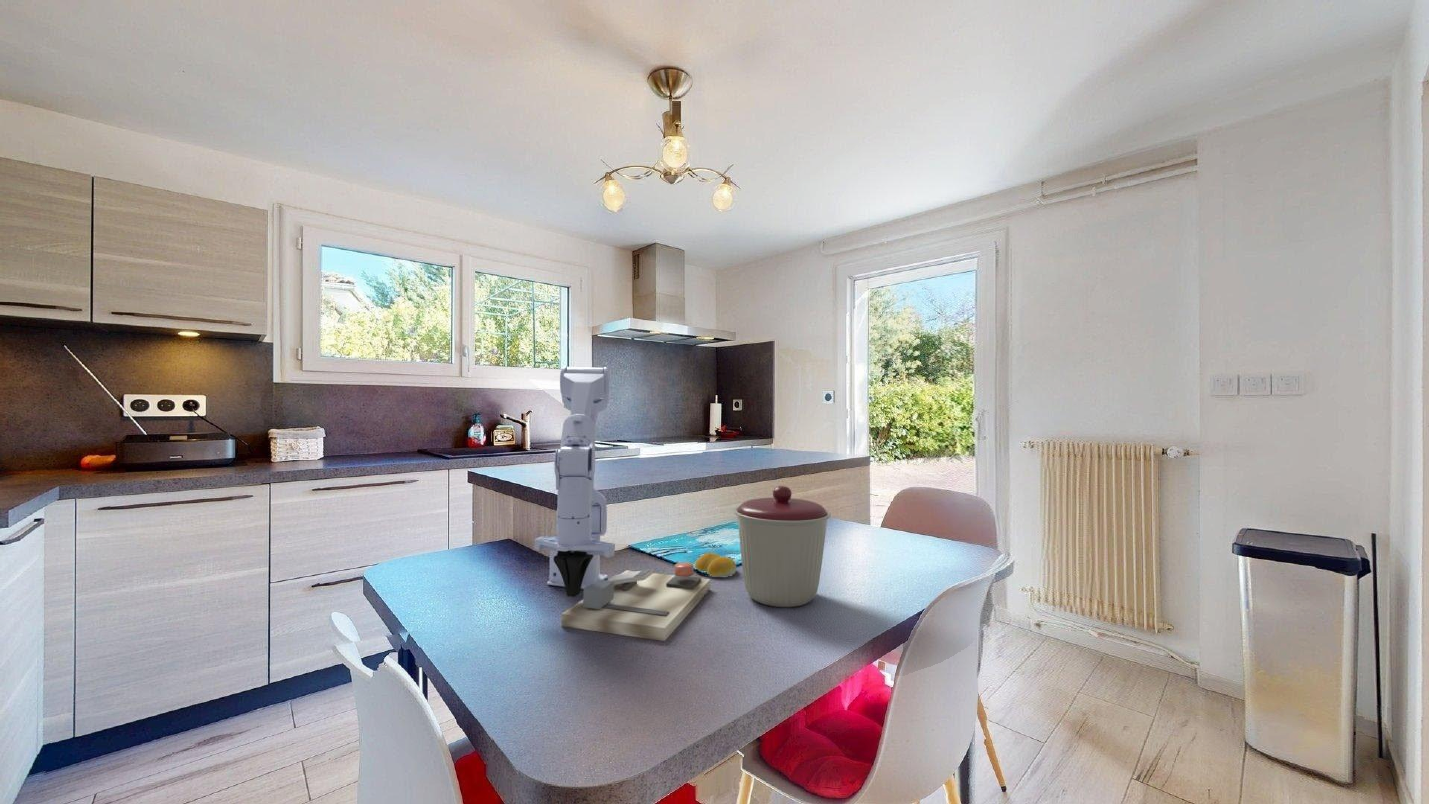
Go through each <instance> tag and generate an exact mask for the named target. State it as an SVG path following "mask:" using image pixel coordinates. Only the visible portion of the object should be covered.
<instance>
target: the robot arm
mask: <svg viewBox="0 0 1429 804" xmlns="http://www.w3.org/2000/svg"><path fill="white" fill-rule="evenodd" d="M559 389H560V393H561V394H560V395H561V399H562V404H563V406H564V407H563V408H564V409H566V410H568V411H570V416H568V417H567V418H566V419H564V421H563V424H562V425H563V426H562V432H561V440H560V445H559V449H558V448H556V449H555V452H554V460H553V466H554V468H553V469H554V475H555V490H556V491H557V501H556V503H557V505H556V506H557V508H556V514H555V534H556V536H538V537H536V538H534V541H533V542H534V546H533V549H534V551H541V550H544V551H549V576H548V578H549V580H548V581H547V583H546V584H547V585H549V586H550V585H551V586H557V587H563V588H565V593H566V596H567V597H571V598H574V597H577V596H578V595H580V594H581V590H584V588H586V587H587V586H589V585H590V584H592V583H593V582H595V581H597V580H607V579H608V574H604V573H603V574H601V573H600V572H601V571H600V568H601V567H600V566H601V564H600V563H601V561H600V560H601V559H600V558H601V557H604V558H608V559H609V558H611V557H614V556H615V553H616V543H612V542H608V541H607V542H606V541H602V540H601V537H602V536H605V534H606V533H607V531H608V530H607V529H608V527H607V525H608V523H607V522H608V507H607V498H606V497H605V496H604V494H603V493H601V492H599V491H598V490H597V489H595V479H594V478H595V472H596V428H597V420H598V417H599V414H600V412H602V411H604V410H606V409H608V404H609V395H610V394H609V393H610V369H609V368H608V367H607V366H604V367H591V366H590V367H585V366H583V367H582V366H567V365H564V366H563V367H561V369H560V374H559Z"/></svg>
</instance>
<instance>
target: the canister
mask: <svg viewBox="0 0 1429 804" xmlns="http://www.w3.org/2000/svg"><path fill="white" fill-rule="evenodd" d="M772 496H773V497H762V498H760V497H759V498H754V499H749V500H747V501H744V502H742V503H741V504H740V505H738V506H736V507H735V508H734V509H733V512H734V514H735V516H737V523H738V524H737V526H738V535H739V548H740V558H741V567H742V574H743V575H742V576H743V583H744V587H745V590H746V592H747V594H748V595H749V597H750V598H751V599H753V600H754V601H756V602H758V603H760V604H762V605H766V606H771V607H776V608H794V607H799V606H803V605H805V604H808V603H810V602H811V601H812V600H813V599H814V598H815V597H816V595H817V591H818V589H819V585H820V579H821V571H822V566H823V565H822V564H823V557H824V550H825V542H826V540H825V539H826V535H827V523H828V520H829V519H830V517H831V516H832V513H831V512H830V510H829V509H827V508H825V507H823V505H821V504H820V503H817V502H814V501H811V500H807V499H800V498H794V497H793V498H791V497H792V496H793V495H792V490H791V489H790V488H789V486H784V485H778V486H776V487H774V488H773V491H772Z"/></svg>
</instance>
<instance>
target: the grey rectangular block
mask: <svg viewBox="0 0 1429 804" xmlns="http://www.w3.org/2000/svg"><path fill="white" fill-rule="evenodd" d="M607 580H608V579H604V580H597V581H595V582H593V583H592V584H590V585H589V586H587V587H586V588H584V589H583V593H582V594H583V598H582V600H583V607H587V608H595V609H600V608H602V607H603V606H604V605H606V604H607V603H608V602H610V601H611V600H612V599H614V581H607Z"/></svg>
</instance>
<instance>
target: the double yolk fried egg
mask: <svg viewBox="0 0 1429 804" xmlns="http://www.w3.org/2000/svg"><path fill="white" fill-rule="evenodd" d="M695 568H697V569H698V570H700V571H707V574H709V575H710V576H712V577H721V576H730V575H732V576H734V575H735V574H736V572H737V564H736V562H735V560H733V559H732V557H731V558H730V557H726V556H721V555H719V554H717V553H715V552H707V553H704V554H702V555H700V557H698V559H697V560H695V562H694V569H695ZM733 574H734V575H733ZM730 577H731V576H730Z"/></svg>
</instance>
